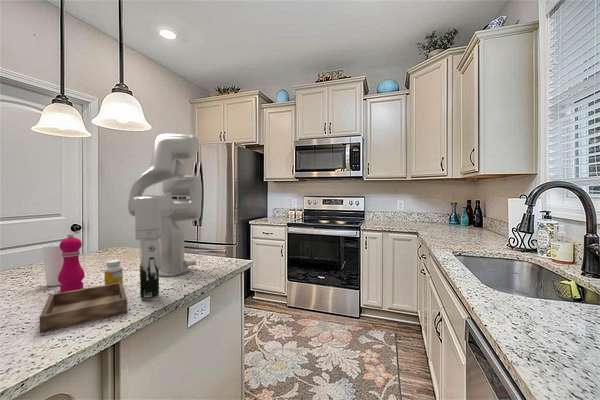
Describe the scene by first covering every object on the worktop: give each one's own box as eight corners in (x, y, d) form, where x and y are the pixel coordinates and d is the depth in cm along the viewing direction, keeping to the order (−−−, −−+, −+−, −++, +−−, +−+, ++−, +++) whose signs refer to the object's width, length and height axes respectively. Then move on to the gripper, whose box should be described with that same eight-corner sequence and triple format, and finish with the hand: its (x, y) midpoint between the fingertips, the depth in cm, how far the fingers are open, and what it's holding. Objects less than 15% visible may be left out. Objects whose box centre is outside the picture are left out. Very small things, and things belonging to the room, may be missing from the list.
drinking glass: (54, 281, 103) (53, 242, 102) (73, 281, 103) (72, 242, 103) (38, 287, 96) (37, 246, 96) (58, 287, 97) (57, 246, 96)
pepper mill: (69, 293, 91) (68, 235, 90) (52, 292, 92) (51, 234, 91) (90, 286, 98) (88, 232, 97) (74, 285, 99) (72, 231, 99)
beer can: (158, 298, 86) (158, 262, 86) (139, 301, 84) (138, 264, 84) (159, 293, 91) (158, 258, 91) (141, 295, 89) (140, 260, 89)
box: (122, 293, 91) (122, 282, 90) (127, 313, 76) (126, 299, 76) (50, 307, 80) (49, 294, 80) (39, 333, 65) (39, 317, 65)
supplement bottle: (102, 288, 96) (101, 261, 96) (119, 284, 100) (118, 258, 100) (108, 291, 93) (107, 263, 92) (125, 286, 97) (125, 260, 97)
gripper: (166, 236, 82) (167, 294, 83) (157, 230, 96) (157, 280, 97) (138, 239, 78) (139, 300, 78) (132, 232, 92) (133, 284, 92)
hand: (149, 288), depth 88 cm, fingers closed on beer can, 5 cm apart
